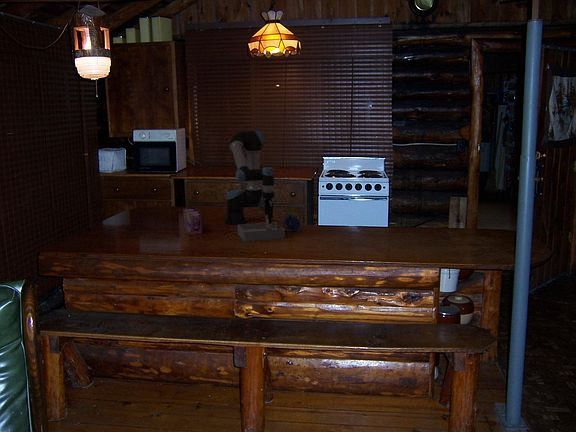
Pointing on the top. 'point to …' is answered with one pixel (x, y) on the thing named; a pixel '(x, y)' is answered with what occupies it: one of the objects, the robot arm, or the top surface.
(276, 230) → the box
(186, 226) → the gum box
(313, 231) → the top surface
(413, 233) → the top surface
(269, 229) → the peg
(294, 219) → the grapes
